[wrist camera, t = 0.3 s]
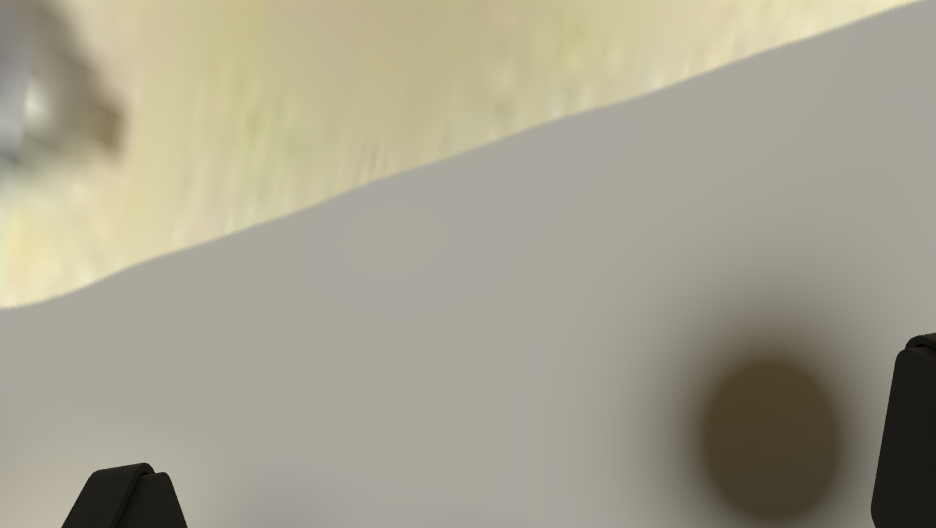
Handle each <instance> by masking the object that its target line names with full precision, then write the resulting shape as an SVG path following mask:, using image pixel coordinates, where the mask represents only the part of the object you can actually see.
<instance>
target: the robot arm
mask: <svg viewBox="0 0 936 528" xmlns="http://www.w3.org/2000/svg"><path fill="white" fill-rule="evenodd" d="M871 515H872V519H873V522H874V525H875V527H876V528H936V333H931V334H925V335H919V336H916V337H913V338H911V339H910V340H909V341H908V343H907V344H906V347H905V350H902V351H901V352H900V353H899V354H898V355H897V358H896V361H895V368H894V373H893V379H892V385H891V391H890V396H889V403H888V409H887V414H886V420H885V426H884V432H883V438H882V444H881V450H880V456H879V461H878V468H877V473H876V479H875V485H874V491H873V497H872V503H871ZM61 528H187V525H186V522H185V519H184V516H183V513H182V510H181V507H180V505H179V502H178V499H177V496H176V493H175V490H174V487H173V485H172V482H171V479H170V477H169V476H168V474H167V473H165V472H160V473H155V472H154V470H153V468H152V467H151V466H150V465H149V464H147V463H139V464H133V465H127V466H121V467H114V468H108V469H102V470H98V471H96V472H94V473H92V475H91V476H90V477H89V479H88V480H87V482H86V484H85V486H84V488H83V489H82V491H81V493H80V495H79V497H78V498H77V500H76V502H75V504H74V506H73V507H72V509H71V511H70V513H69V515H68V517H67V518H66V520H65V522H64V524H63V526H62V527H61Z"/></svg>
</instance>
